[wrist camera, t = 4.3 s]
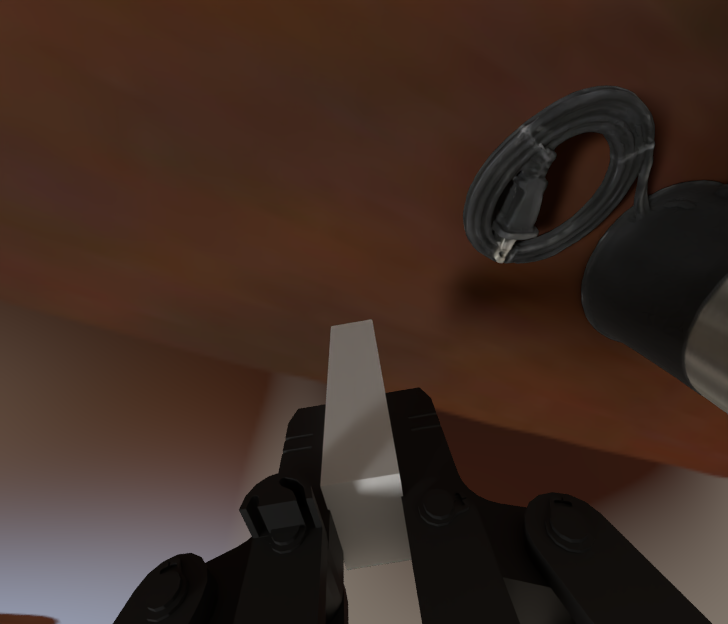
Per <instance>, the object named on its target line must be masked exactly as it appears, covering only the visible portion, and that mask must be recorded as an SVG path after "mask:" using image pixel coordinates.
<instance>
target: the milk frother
mask: <svg viewBox="0 0 728 624" xmlns="http://www.w3.org/2000/svg"><path fill="white" fill-rule="evenodd" d="M586 132H596V133H601V134H603V135H604V137H605V138H606V140H607V142H608V144H609V146H610V164H609V167H608V170H607V173H606V175H605V178H604V180H603V182H602V184H601V185H600V187H599V188H598V189H597V191H596V192H595V194H594V195H593V196H592V198H591V199H590V200H589V201H588V202H587V203H586V204H585V205H584V206H583V207H582V208H581V209H580V210H579V211H578V212H577V213H576V214H575V215H574V216H573V217H571V218H570V219H568V220H567V221H566V222H564V223H563V224H561V225H560V226H558V227H557V228H555V229H553V230H551V231H550V232H548V233H545V234H543V235H541V236H539V237H537V236H538V233H539V231H538V229H537V228H536V227H535V226H534V224H535V222H536V220H537V217H538V214H539V211H540V207H541V203H542V198H543V193H544V191H545V189H546V187H547V185H548V181H547V180H546V178H545V177H546V174H547V171H548V169H549V167H550V166H551V164H552V162H553V161H554V160H555V159H556V156H557V154H556V153H555V148H556V147H557V146H558V145H559V144H561V143H562V142H564V141H566V140H567V139H569V138H571V137H573V136H576V135H579V134H582V133H586ZM654 136H655V125H654V121H653V117H652V115H651V112H650V111H649V110H648V108H647V107H646V105H645V104H644V103H643V102H642V101H641V100H640V98H639V97H637V96H636V95H635V94H634V93H633V92H631V91H629V90H627V89H624V88H621V87H617V86H596V87H591V88H587V89H582V90H579V91H576V92H573V93H571V94H569V95H567V96H565V97H563V98H561V99H559V100H557V101H556V102H554V103H552V104H551V105H549V106H548V107H546V108H545V109H543V110H542V111H540V112H539V113H537V114H536V115H535V116H533V117H532V118H530V119H529V120H527V121H526V122H525V123H524V124H522V125H521V126H520V127H519V128H518V129H517V130H516V131H514V132H513V133H512V134H511V135H510V136H508V137H507V138H506V139H505V140H504V141H503V142H502V143H501V145H500V146H499V147H498V148H497V149H496V150H495V151H494V152H493V153H492V154H491V155H490V156H489V158H488V159H487V160H486V162H485V163H484V164H483V166H482V167H481V169H480V170H479V172H478V173H477V175H476V176H475V178H474V181H473V183H472V184H471V186H470V188H469V191H468V193H467V197H466V202H465V206H464V211H463V222H464V229H465V232H466V235H467V238H468V240H469V241H470V242H471V244H472V245H473V247H474V248H475V249H476V250H477V251H478V252H480V253H482V254H483V255H485V256H486V257H488V258H490V259H491V260H493V261H495V262H498V263H503V262H504V263H529V262H535V261H539V260H543V259H546V258H549V257H551V256H554V255H556V254H557V253H559V252H561V251H562V250H564V249H565V248H566V247H569V246H571V245H572V244H574V243H575V242H577V241H579V240H580V239H581V238H583V237H584V236H586V235H587V234H588V233H590V232H591V231H592V230H593V229H594V228H596V227H597V226H598V225H599V224H600V223H601V222H602V221H603V220H604V219H605V218H606V217H607V216H608V215H609V214H610V213H611V212H612V211H613V210H614V209H615V207H616V206H617V205H618V204H619V203H620V202H621V200H622V199H623V198H624V196H625V195H626V193H627V192H628V190H629V188H630V187H631V185H632V184H633V182H634V181H635V179H636V177H637V176H638V181H637V187H636V192H635V198H634V206H632V207H631V208H630V209H628V210H627V211H626V212H625V213H623V214H622V215H621V216H620V217H619V218H618V219H617V220H616V221H615V223H614V224H613V225H611V226H610V228H609V229H608V230H607V231H606V233H605V234H604V236H603V237H602V238H601V239H600V240H599V242H598V244H597V246H596V248H595V250H594V251H593V253H592V255H591V257H590V259H589V261H588V263H587V266H586V269H585V272H584V276H583V280H582V287H581V295H582V298H581V301H582V305H583V309H584V312H585V315H586V317H587V319H588V321H589V322H590V324H591V325H592V326H593V327H594V328H595V329H596V330H597V331H598V332H599V333H601V334H603V335H604V336H606V337H608V338H610V339H612V340H615V341H618V342H622V343H624V344H625V345H627V346H629V347H630V348H632V349H633V350H635V351H636V352H638V353H640V354H641V355H643V356H644V357H645V358H647V359H649V360H650V361H652V362H653V363H655V364H656V365H658V366H659V367H661V368H662V369H664V370H666V371H667V372H668V373H670V374H671V375H673V376H674V377H676V378H677V379H679V380H680V381H681V382H683V383H684V384H686V385H687V386H688V387H690V388H691V389H693V390H694V391H696V392H697V393H698V394H700V395H702V396H704V397H705V398H707V399H708V400H709V401H711V402H712V403H714V404H715V405H716V406H718V407H719V408H720V409H722V410H723V411H725V412H726V413H727V414H728V184H722V183H720V182H715V181H707V180H702V181H690V182H683V183H679V184H675V185H672V186H670V187H667V188H663V189H661V190H659V191H657V192H655V193H654V194H652V195H649V196H648V195H647V183H648V178H649V173H650V170H651V166H652V163H653V150H654V147H655V141H654ZM535 237H536V238H535ZM530 238H533V239H530ZM527 239H530V240H527ZM516 240H525V241H520V242H516Z"/></svg>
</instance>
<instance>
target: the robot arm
mask: <svg viewBox="0 0 728 624" xmlns="http://www.w3.org/2000/svg"><path fill="white" fill-rule="evenodd" d="M239 511H240V513H241V515H242V517H243V519H244V521H245V523H246V525H247V527H248V529H249V531H250V533H251V535H252V537H251V538H250V539H249V540H247V541H246V542H244V543H243V544H241V545H239V546H238V547H236V548H234V549H232V550H230V551H228V552H226V553H224V554H222V555H220V556H218V557H216V558H214V559H212V560H210V561H208V562H206V563H205V562H204V561H203V559H202V557H200V556H197V555H195V554H192V553H187V554H179V555H176V556H174V557H172V558H170V559H168V560H166V561H164V562H162V563H161V564H160V565H159V566H157V567H156V568H155V569H154V570H152V571H151V572H150V573H149V574H148V575H147V576H146V577H145V579H144V580H143V581H142V582H141V583H140V585H139V586H138V587H137V588H136V590H135V591H134V592H133V594H132V595H131V597H130V598H129V600H128V601H127V603H126V604H125V606H124V608H123V609H122V611H121V612H120V614H119V615H118V617H117V618H116V620H115V621H114V623H113V624H348V600H347V595H346V589H345V586H344V583H343V582H344V581H343V580H344V579H343V578H344V576H343V572H344V571H343V570H344V568H343V559H344V562H345V566H346V569H347V570H351V569H357V568H363V567H370V566H376V565H382V564H389V563H395V562H401V561H407V560H412V565H413V571H414V577H415V583H416V589H417V595H418V600H419V607H420V613H421V618H422V624H712V623H711V622H710V621H709V620H708V619H707V618H706V617H705V616H704V615H703V614H702V613H701V612H700V611H699V610H698V609H697V608H696V607H695V606H694V605H693V604H692V603H691V602H690V601H689V600H688V599H687V598H686V597H685V596H683V594H682V593H681V592H680V591H679V590H677V588H675V586H674V585H673V584H672V583H671V582H670V581H668V579H666V578H665V577H664V576H663V575H662V574H661V573H660V572H659V571H658V570H657V569H656V568H655V567H654V566H653V565H652V564H651V563H650V562H649V561H648V560H647V559H646V558H645V557H644V556H643V555H642V554H641V553H640V552H639V551H638V550H637V549H636V548H635V547H634V546H633V545H632V544H631V543H630V542H629V541H628V540H627V539H626V538H625V537H624V536H623V535H622V534H621V533H620V532H619V531H618V530H617V529H616V528H615V527H614V526H613V525H611V523H610V522H609V521H608V520H607V519H606V518H605V517H604V516H603V515H602V514H601V513H599V512H598V511H596V510H595V509H594V508H593V507H591V506H590V505H589V504H588V503H586V502H585V501H582V500H580V499H578V498H575V497H573V496H571V495H568V494H560V493H553V492H552V493H547V494H542V495H538V496H537V497H536V498H534V499H533V500H532V501H530V502H529V504H528V506H527V508H526V507H519V506H513V505H506V504H500V503H496V502H492V501H488V500H486V499H484V498H482V497H479V496H478V495H476V494H475V493H474V492H472V491H471V490H470V489H469V488H468V487H467V486H466V485H465V484H464V483H463V481H462V480H461V478H460V476H459V474H458V472H457V469H456V466H455V463H454V461H453V458H452V455H451V453H450V450H449V447H448V444H447V441H446V439H445V436H444V433H443V430H442V428H441V426H440V422H439V419H438V416H437V415H436V411H435V408H434V405H433V403H432V400H431V398H430V397H429V396H428V395H427V394H426V393H425V392H424V391H423V390H422V389H421V388H413V389H407V390H401V391H395V392H389V393H385V390H384V384H383V378H382V373H381V367H380V362H379V356H378V350H377V345H376V339H375V333H374V328H373V322H372V319H371V320H365V321H359V322H354V323H348V324H342V325H336V326H331V335H330V350H329V365H328V380H327V396H326V404H325V405H319V406H313V407H307V408H301V409H298V410H297V412H296V413H295V414H294V416H293V417H292V419H291V420H290V422H289V424H288V428H287V433H286V441H285V443H284V448H283V454H282V458H281V463H280V468H279V473H278V474H275V475H272V476H269V477H267V478H265V479H264V480H262V481H261V482H260V483H258V484H256V485H255V486H254V487H253V489H252V490H251V491H250V492H249V493H248V494H247V495H246V497H245V498H244V501H243V503H242V505H241V507H240V509H239Z"/></svg>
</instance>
